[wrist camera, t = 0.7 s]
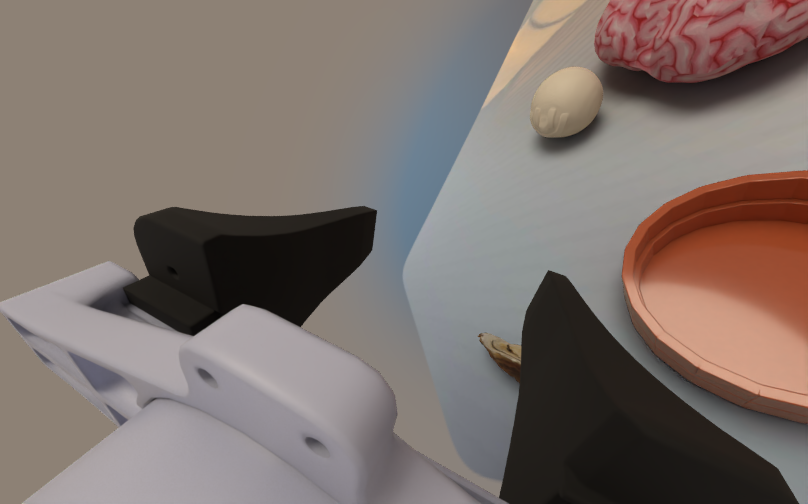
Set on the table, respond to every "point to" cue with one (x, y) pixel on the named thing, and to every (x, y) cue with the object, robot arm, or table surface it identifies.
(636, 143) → the table surface
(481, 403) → the table surface
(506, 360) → the oyster shell
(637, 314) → the bowl
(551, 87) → the cream ball
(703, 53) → the brain
